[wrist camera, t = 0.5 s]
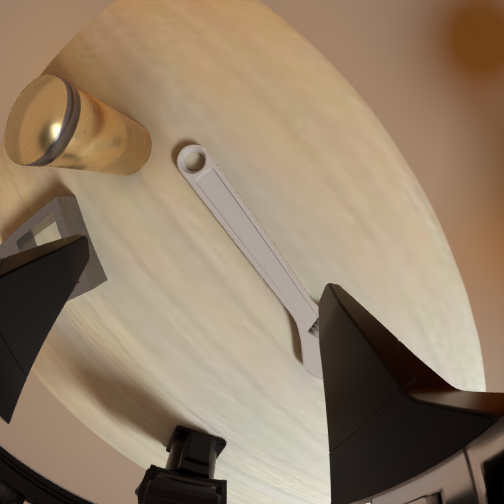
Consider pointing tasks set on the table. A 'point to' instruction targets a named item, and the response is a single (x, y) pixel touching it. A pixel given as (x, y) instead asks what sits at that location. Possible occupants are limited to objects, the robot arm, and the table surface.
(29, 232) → the grey rectangular holder
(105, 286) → the table surface
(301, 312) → the adjustable wrench
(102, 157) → the gold tin can
